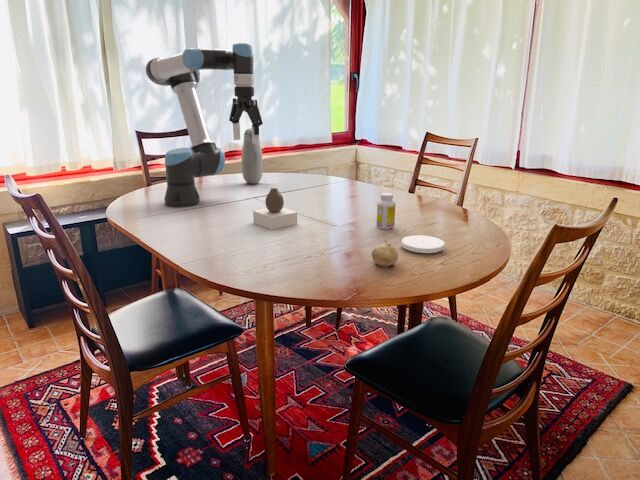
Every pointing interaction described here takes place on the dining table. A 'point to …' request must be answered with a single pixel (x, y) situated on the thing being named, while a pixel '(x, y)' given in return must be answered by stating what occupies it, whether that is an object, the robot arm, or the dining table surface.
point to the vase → (274, 200)
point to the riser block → (275, 218)
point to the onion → (385, 254)
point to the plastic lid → (422, 244)
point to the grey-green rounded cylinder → (251, 159)
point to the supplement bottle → (386, 211)
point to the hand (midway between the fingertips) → (246, 141)
